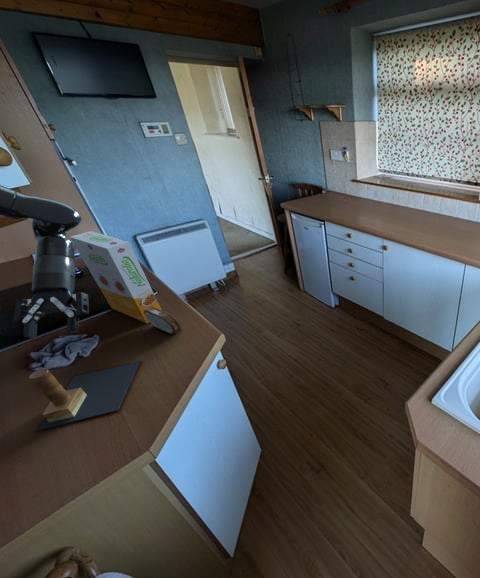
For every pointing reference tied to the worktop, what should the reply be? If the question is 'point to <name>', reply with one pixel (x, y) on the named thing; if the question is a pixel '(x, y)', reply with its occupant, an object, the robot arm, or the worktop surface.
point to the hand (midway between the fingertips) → (51, 335)
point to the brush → (57, 396)
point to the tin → (162, 320)
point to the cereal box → (116, 273)
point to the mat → (98, 393)
